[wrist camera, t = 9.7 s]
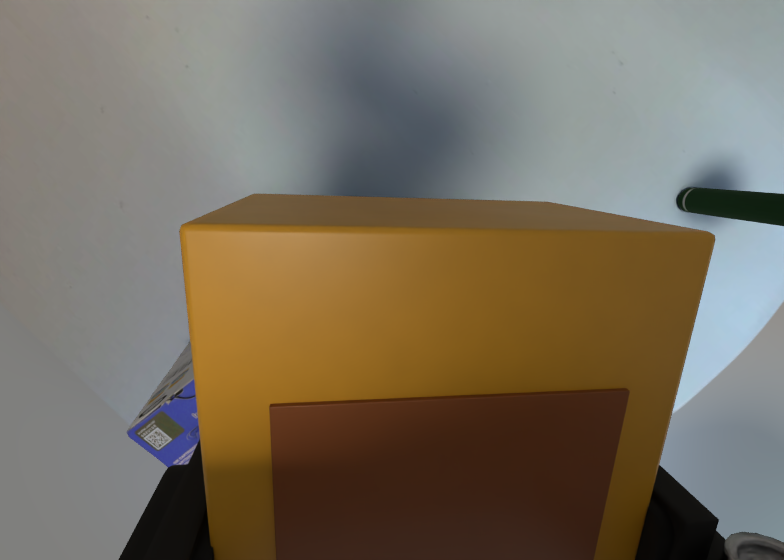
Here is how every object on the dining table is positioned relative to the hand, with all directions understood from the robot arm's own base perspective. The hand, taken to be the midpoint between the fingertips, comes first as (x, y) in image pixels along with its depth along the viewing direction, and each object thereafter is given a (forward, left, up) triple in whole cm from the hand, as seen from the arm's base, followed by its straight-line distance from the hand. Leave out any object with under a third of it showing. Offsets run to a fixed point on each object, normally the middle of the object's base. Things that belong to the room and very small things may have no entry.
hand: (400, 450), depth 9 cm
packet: (0, 0, -1) cm, 1 cm away
